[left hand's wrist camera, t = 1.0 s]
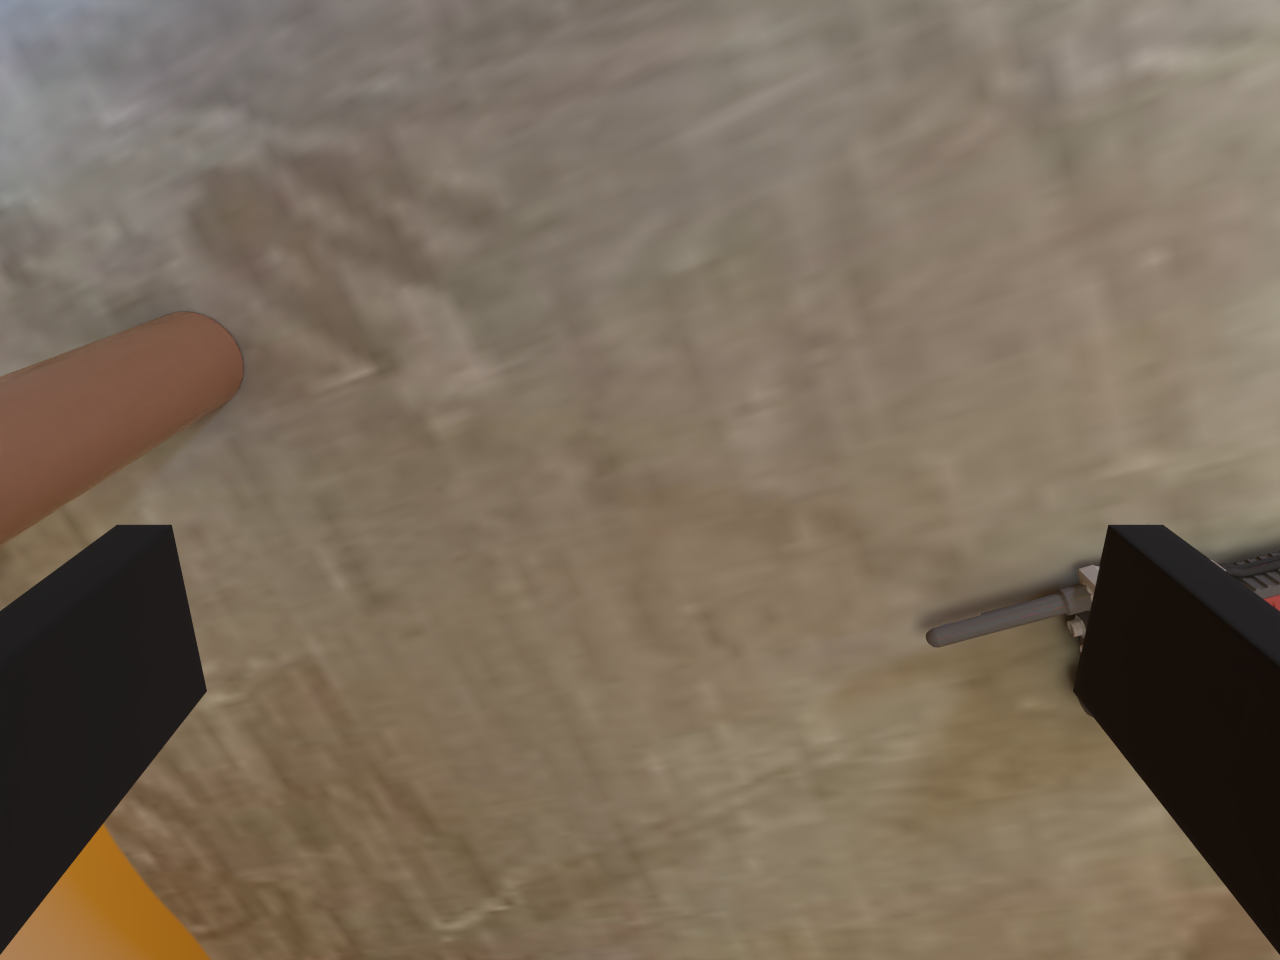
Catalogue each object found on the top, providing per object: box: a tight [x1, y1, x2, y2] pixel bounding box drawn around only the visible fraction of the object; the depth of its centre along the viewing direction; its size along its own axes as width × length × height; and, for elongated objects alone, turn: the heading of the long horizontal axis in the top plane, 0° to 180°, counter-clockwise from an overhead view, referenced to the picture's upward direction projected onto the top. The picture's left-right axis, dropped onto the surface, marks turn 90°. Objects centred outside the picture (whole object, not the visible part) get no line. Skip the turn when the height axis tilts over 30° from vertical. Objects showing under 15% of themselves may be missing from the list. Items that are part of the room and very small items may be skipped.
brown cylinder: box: [0, 312, 243, 546], centre depth 31 cm, size 4×4×20 cm
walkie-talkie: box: [926, 551, 1280, 717], centre depth 43 cm, size 9×4×20 cm
